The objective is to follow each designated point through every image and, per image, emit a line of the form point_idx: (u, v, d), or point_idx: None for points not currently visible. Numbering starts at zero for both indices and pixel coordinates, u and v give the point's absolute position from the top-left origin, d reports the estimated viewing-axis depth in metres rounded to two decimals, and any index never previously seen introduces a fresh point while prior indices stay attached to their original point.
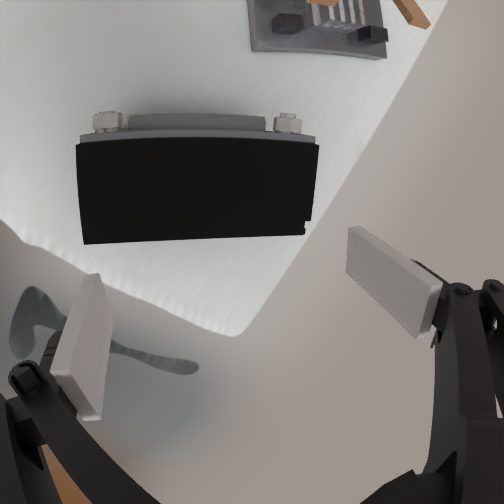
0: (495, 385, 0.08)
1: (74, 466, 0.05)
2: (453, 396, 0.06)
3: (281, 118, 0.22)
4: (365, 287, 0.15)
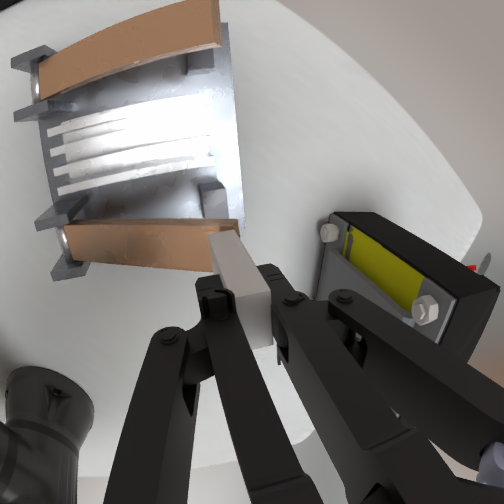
0: (391, 403, 0.09)
1: (230, 391, 0.07)
2: (340, 426, 0.07)
3: (422, 324, 0.20)
4: None
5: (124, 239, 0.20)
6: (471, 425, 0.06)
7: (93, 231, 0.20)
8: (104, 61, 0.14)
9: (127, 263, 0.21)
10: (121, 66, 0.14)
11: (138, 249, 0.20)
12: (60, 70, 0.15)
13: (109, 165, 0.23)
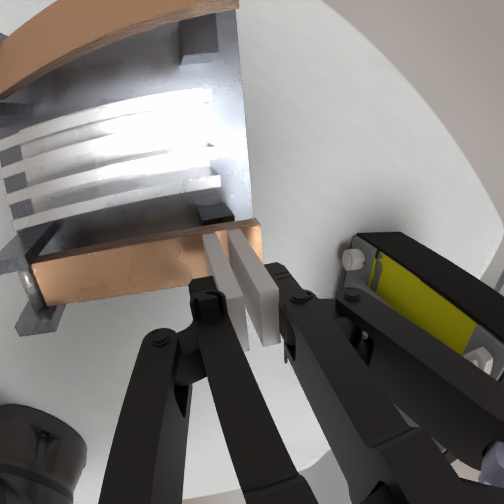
0: (396, 401, 0.09)
1: (222, 393, 0.07)
2: (344, 423, 0.07)
3: None
4: None
5: (126, 263, 0.17)
6: (474, 424, 0.06)
7: (79, 263, 0.16)
8: (60, 40, 0.08)
9: (129, 292, 0.17)
10: (82, 45, 0.08)
11: (146, 271, 0.17)
12: (9, 60, 0.09)
13: (80, 186, 0.17)
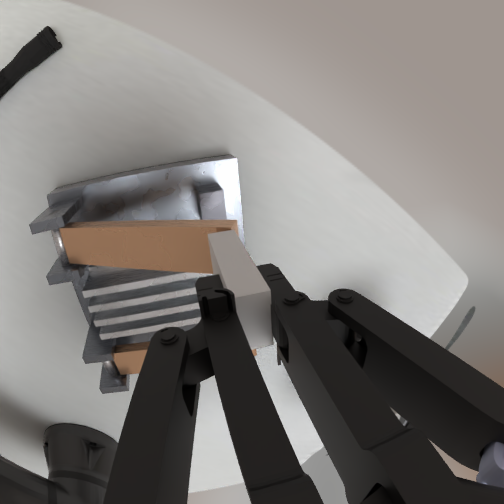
0: (391, 403, 0.09)
1: (230, 391, 0.07)
2: (340, 426, 0.07)
3: None
4: None
5: None
6: (471, 425, 0.06)
7: (145, 353, 0.27)
8: (133, 259, 0.20)
9: None
10: (151, 269, 0.20)
11: None
12: (86, 247, 0.20)
13: None
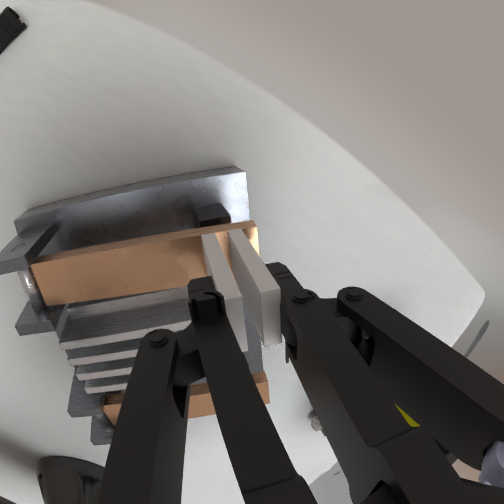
0: (397, 401, 0.09)
1: (221, 393, 0.07)
2: (345, 423, 0.07)
3: None
4: (240, 289, 0.16)
5: None
6: (475, 424, 0.06)
7: None
8: (139, 282, 0.17)
9: None
10: (162, 289, 0.18)
11: (189, 409, 0.23)
12: (72, 281, 0.16)
13: None
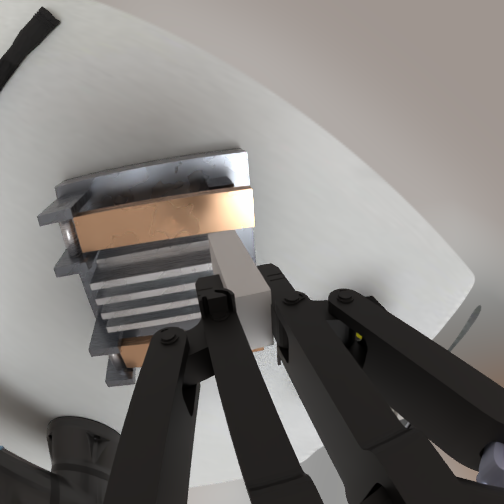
0: (391, 403, 0.09)
1: (230, 391, 0.07)
2: (340, 426, 0.07)
3: None
4: None
5: None
6: (471, 425, 0.06)
7: None
8: (161, 231, 0.23)
9: None
10: (178, 236, 0.23)
11: None
12: (107, 230, 0.22)
13: None
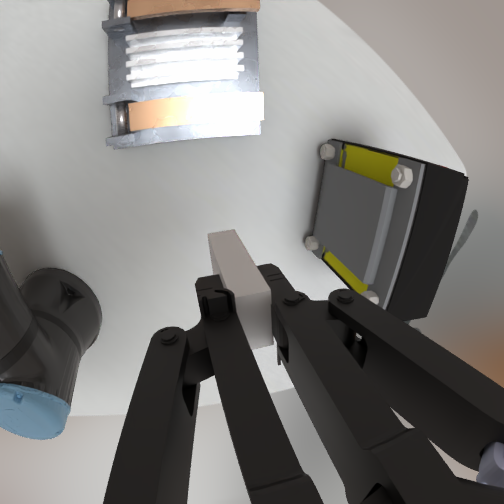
0: (391, 403, 0.09)
1: (230, 391, 0.07)
2: (339, 426, 0.07)
3: (400, 184, 0.26)
4: None
5: (188, 105, 0.29)
6: (471, 425, 0.06)
7: (160, 103, 0.28)
8: (191, 4, 0.24)
9: (186, 122, 0.30)
10: (203, 8, 0.24)
11: (198, 110, 0.29)
12: (151, 2, 0.23)
13: None
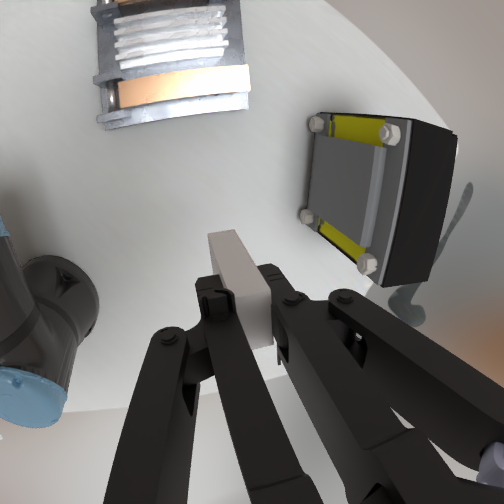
0: (391, 403, 0.09)
1: (230, 391, 0.07)
2: (339, 426, 0.07)
3: (389, 141, 0.26)
4: None
5: (175, 80, 0.28)
6: (471, 425, 0.06)
7: (149, 80, 0.28)
8: None
9: (175, 97, 0.29)
10: None
11: (186, 85, 0.29)
12: None
13: None
